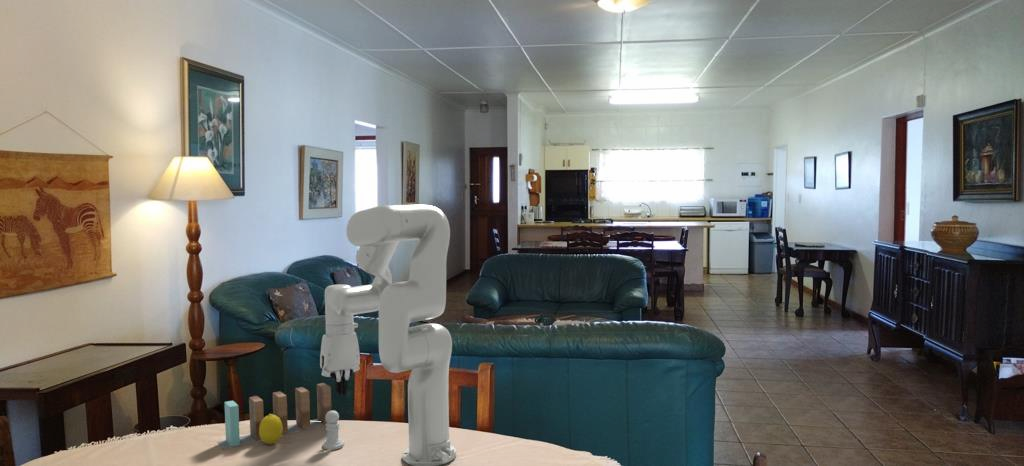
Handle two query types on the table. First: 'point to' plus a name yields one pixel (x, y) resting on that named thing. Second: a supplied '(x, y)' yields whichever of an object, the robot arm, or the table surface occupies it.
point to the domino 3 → (302, 408)
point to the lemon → (270, 429)
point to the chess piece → (332, 431)
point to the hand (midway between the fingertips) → (341, 394)
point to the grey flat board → (250, 439)
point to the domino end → (232, 423)
